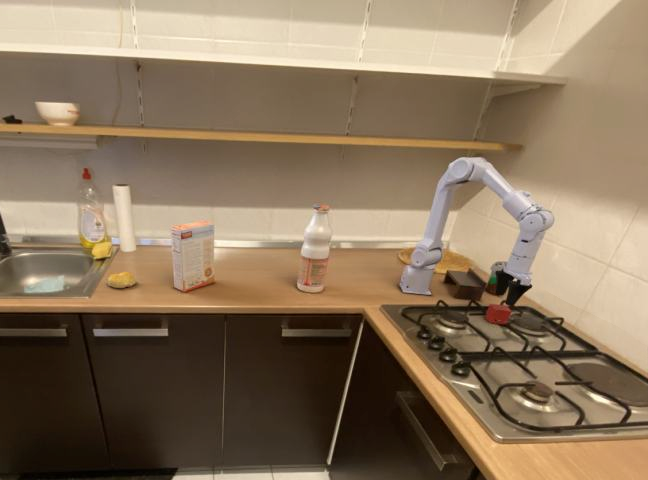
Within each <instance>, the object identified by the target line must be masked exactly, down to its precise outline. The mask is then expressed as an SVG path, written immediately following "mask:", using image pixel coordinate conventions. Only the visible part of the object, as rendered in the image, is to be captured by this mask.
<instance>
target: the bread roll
mask: <svg viewBox="0 0 648 480" xmlns="http://www.w3.org/2000/svg"><path fill="white" fill-rule="evenodd" d="M107 284H108V286H109V287H111V288H114V289H125V288H126V287H127V288H130V287H133V286H134V285H135V284H136V281H135V276H134V275H133V274H132V273H131V272H128V271H122V272H120V273H112V274H110V275H109V277H108V278H107Z"/></svg>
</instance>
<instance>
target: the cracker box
mask: <svg viewBox="0 0 648 480" xmlns="http://www.w3.org/2000/svg"><path fill="white" fill-rule="evenodd" d="M170 239H171V241H170V242H171V255H172V256H171V257H172V272H173V273H172V274H173V288H174V289H175V290H178V291H181V292H183V293H186V292H189V291H192V290H195V289H198V288H201V287H204V286H208V285H211V284H214V283H215V223H214V222H213V223H212V222H209V221H207V220H201V221H195V222H194V221H193V222H190V223H183V224H178V225H173V226H170Z"/></svg>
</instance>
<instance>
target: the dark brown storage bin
mask: <svg viewBox="0 0 648 480" xmlns="http://www.w3.org/2000/svg"><path fill="white" fill-rule="evenodd" d="M442 283H443V284H447V285H456V286H457V289H456V291H455V295H454V298H455V299H458V300H467V301H476V302H477V301H478V302H480V301H481V300H482V297H483V295H484V292H485V291H486V288H487V285H488V282H487V281H485V279H483V277H481V276H480V275H479V274H478V273H477V272H476V271H475V270H474V269H473V268H472V267H468V269H467V271H462V270H452V269H451V270H450V269H446V272H445V275H444V278H443V281H442Z"/></svg>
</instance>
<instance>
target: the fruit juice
mask: <svg viewBox="0 0 648 480" xmlns="http://www.w3.org/2000/svg"><path fill="white" fill-rule="evenodd" d="M329 212H330V206H329V205H327V204H314V205H313V214H312V217H311V219H310V220H309V223H308V224H307V226H306V227H305V228H304V232H303V240H304V241H303V244H302V246H301V251H300V259H299V264H298V265H299V266H298V274H297V282H296V288H297V289H298V290H300V291H302V292H304V293H310V294H311V293H313V294H315V293H320V292H322V291H323V290H324V288H325V282H326V278H327V277H326V276H327V269H328V264H329V257H330V250H331V248H330V242H331V240H332V237H333V231H332V229H331V226H330V220H329Z"/></svg>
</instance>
